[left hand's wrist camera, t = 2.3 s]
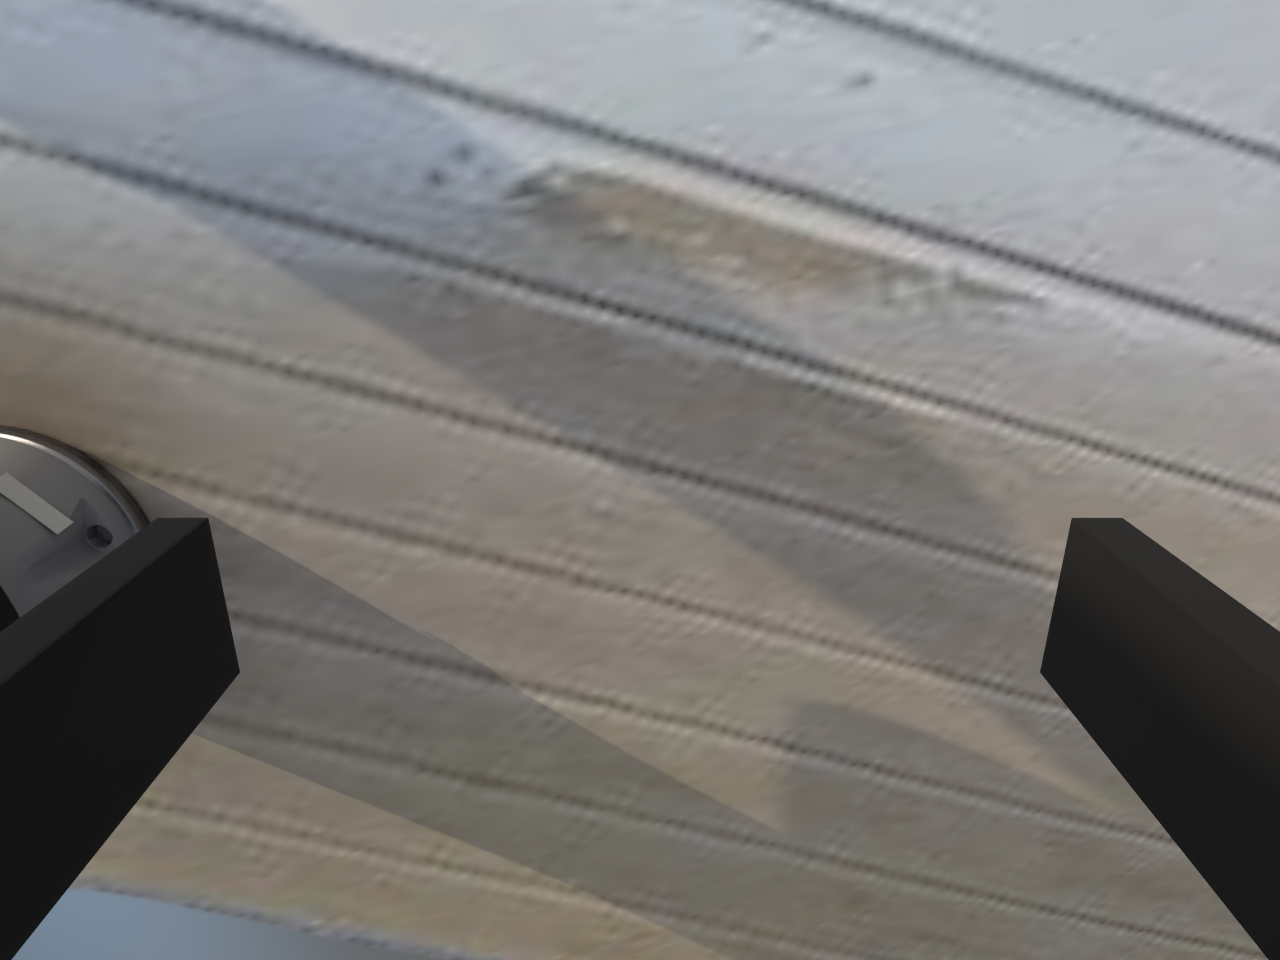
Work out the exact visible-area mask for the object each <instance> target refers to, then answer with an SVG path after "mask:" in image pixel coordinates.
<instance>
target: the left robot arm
mask: <svg viewBox="0 0 1280 960" xmlns="http://www.w3.org/2000/svg"><path fill="white" fill-rule="evenodd" d="M239 673H240V670H239V666H238V661H237V656H236V651H235V646H234V641H233V636H232V632H231V627H230V622H229V617H228V612H227V607H226V602H225V598H224V593H223V588H222V583H221V578H220V573H219V568H218V564H217V559H216V554H215V549H214V544H213V539H212V534H211V530H210V525H209V520H208V518H157V519H156V520H154V521H153V522H151V523H150V524H149V525H148V524H147V522H146V520H145V518H144V516H143V515H142V513H141V511H140V510H139V508H138V507H137V505H136V504H135V502H134V501H133V500H132V498H131V497H130V496H129V494H128V493H127V492H126V491H125V490H124V488H123V487H122V486H121V485H120V484H119V483H118V482H117V481H116V480H115V479H114V478H113V477H112V476H111V475H110V474H109V473H107V472H106V471H105V470H104V469H103V468H102V467H100V466H99V465H98V464H96V463H95V462H94V461H92V460H91V459H90V458H88V457H87V456H85V455H84V454H82V453H80V452H79V451H77V450H75V449H73V448H72V447H70V446H68V445H66V444H64V443H62V442H60V441H57V440H55V439H53V438H50V437H47V436H45V435H42V434H39V433H36V432H32V431H29V430H24V429H19V428H15V427H7V426H0V960H11V959H12V958H13V957H14V956H15V954H16V953H17V952H18V951H19V949H20V948H21V947H22V945H23V944H24V943H25V942H26V940H27V939H28V938H29V937H30V936H31V934H32V933H33V932H34V930H35V929H36V928H37V927H38V925H39V924H40V923H41V922H42V920H43V919H44V918H45V917H46V915H47V914H48V913H49V912H50V910H51V909H52V908H53V907H54V905H55V904H56V903H57V902H58V900H59V899H60V898H61V896H62V895H63V894H64V893H65V891H66V890H67V889H68V888H69V886H70V885H71V884H72V883H73V881H74V880H75V879H76V878H77V876H78V875H79V874H80V873H81V871H82V870H83V869H84V868H85V866H86V865H87V864H88V863H89V861H90V860H91V859H92V858H93V856H94V855H95V854H96V853H97V851H98V850H99V849H100V847H101V846H102V845H103V844H104V842H105V841H106V840H107V839H108V837H109V836H110V835H111V834H112V832H113V831H114V830H115V829H116V827H117V826H118V825H119V824H120V822H121V821H122V820H123V819H124V817H125V816H126V815H127V814H128V812H129V811H130V810H131V809H132V807H133V806H134V805H135V803H136V802H137V801H138V800H139V798H140V797H141V796H142V795H143V793H144V792H145V791H146V790H147V788H148V787H149V786H150V785H151V783H152V782H153V781H154V780H155V778H156V777H157V776H158V775H159V773H160V772H161V771H162V770H163V768H164V767H165V766H166V765H167V763H168V762H169V761H170V759H171V758H172V757H173V756H174V754H175V753H176V752H177V751H178V749H179V748H180V747H181V746H182V744H183V743H184V742H185V741H186V739H187V738H188V737H189V736H190V734H191V733H192V732H193V731H194V729H195V728H196V727H197V726H198V724H199V723H200V722H201V721H202V719H203V718H204V717H205V715H206V714H207V713H208V712H209V710H210V709H211V708H212V707H213V705H214V704H215V703H216V702H217V700H218V699H219V698H220V697H221V695H222V694H223V693H224V692H225V690H226V689H227V688H228V687H229V685H230V684H231V683H232V682H233V680H234V679H235V678H236V676H237V675H238V674H239ZM1040 673H1041V674H1042V675H1043V676H1044V678H1045V679H1046V680H1047V682H1048V683H1049V684H1050V685H1051V687H1052V688H1053V689H1054V690H1055V692H1056V693H1057V694H1058V695H1059V697H1060V698H1061V699H1062V700H1063V702H1064V703H1065V704H1066V705H1067V707H1068V708H1069V709H1070V710H1071V712H1072V713H1073V714H1074V715H1075V717H1076V718H1077V719H1078V721H1079V722H1080V723H1081V724H1082V726H1083V727H1084V728H1085V729H1086V731H1087V732H1088V733H1089V734H1090V736H1091V737H1092V738H1093V739H1094V741H1095V742H1096V743H1097V744H1098V746H1099V747H1100V748H1101V749H1102V751H1103V752H1104V753H1105V754H1106V756H1107V757H1108V758H1109V759H1110V761H1111V762H1112V763H1113V765H1114V766H1115V767H1116V768H1117V770H1118V771H1119V772H1120V773H1121V775H1122V776H1123V777H1124V778H1125V780H1126V781H1127V782H1128V783H1129V785H1130V786H1131V787H1132V788H1133V790H1134V791H1135V792H1136V793H1137V795H1138V796H1139V797H1140V798H1141V800H1142V801H1143V802H1144V803H1145V805H1146V806H1147V807H1148V809H1149V810H1150V811H1151V812H1152V814H1153V815H1154V816H1155V817H1156V819H1157V820H1158V821H1159V822H1160V824H1161V825H1162V826H1163V827H1164V829H1165V830H1166V831H1167V832H1168V834H1169V835H1170V836H1171V837H1172V839H1173V840H1174V841H1175V842H1176V844H1177V845H1178V846H1179V848H1180V849H1181V850H1182V851H1183V853H1184V854H1185V855H1186V856H1187V858H1188V859H1189V860H1190V861H1191V863H1192V864H1193V865H1194V866H1195V868H1196V869H1197V870H1198V871H1199V873H1200V874H1201V875H1202V876H1203V878H1204V879H1205V880H1206V881H1207V883H1208V884H1209V885H1210V886H1211V888H1212V889H1213V890H1214V892H1215V893H1216V894H1217V895H1218V897H1219V898H1220V899H1221V900H1222V902H1223V903H1224V904H1225V905H1226V907H1227V908H1228V909H1229V910H1230V912H1231V913H1232V914H1233V915H1234V917H1235V918H1236V919H1237V920H1238V922H1239V923H1240V924H1241V925H1242V927H1243V928H1244V929H1245V930H1246V932H1247V933H1248V934H1249V936H1250V937H1251V938H1252V939H1253V941H1254V942H1255V943H1256V944H1257V946H1258V947H1259V948H1260V949H1261V951H1262V952H1263V953H1264V954H1265V956H1266V957H1267V958H1268V959H1269V960H1280V632H1279V631H1278V630H1276V629H1275V628H1274V627H1272V626H1271V625H1270V624H1268V623H1267V622H1265V621H1264V620H1263V619H1261V618H1260V617H1258V616H1257V615H1256V614H1254V613H1253V612H1252V611H1250V610H1249V609H1247V608H1246V607H1245V606H1243V605H1242V604H1241V603H1239V602H1238V601H1236V600H1235V599H1234V598H1232V597H1231V596H1229V595H1228V594H1227V593H1225V592H1224V591H1223V590H1221V589H1220V588H1218V587H1217V586H1216V585H1214V584H1213V583H1211V582H1210V581H1209V580H1207V579H1206V578H1205V577H1203V576H1202V575H1200V574H1199V573H1198V572H1196V571H1195V570H1194V569H1192V568H1191V567H1189V566H1188V565H1187V564H1185V563H1184V562H1182V561H1181V560H1180V559H1178V558H1177V557H1176V556H1174V555H1173V554H1171V553H1170V552H1169V551H1167V550H1166V549H1164V548H1163V547H1162V546H1160V545H1159V544H1158V543H1156V542H1155V541H1153V540H1152V539H1151V538H1149V537H1148V536H1147V535H1145V534H1144V533H1142V532H1141V531H1140V530H1138V529H1137V528H1135V527H1134V526H1133V525H1131V524H1130V523H1129V522H1127V521H1126V520H1124V519H1123V518H1072V520H1071V525H1070V530H1069V534H1068V539H1067V544H1066V549H1065V554H1064V559H1063V564H1062V568H1061V573H1060V578H1059V583H1058V588H1057V593H1056V598H1055V602H1054V607H1053V612H1052V617H1051V622H1050V627H1049V632H1048V636H1047V641H1046V646H1045V651H1044V656H1043V661H1042V666H1041V670H1040Z"/></svg>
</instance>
